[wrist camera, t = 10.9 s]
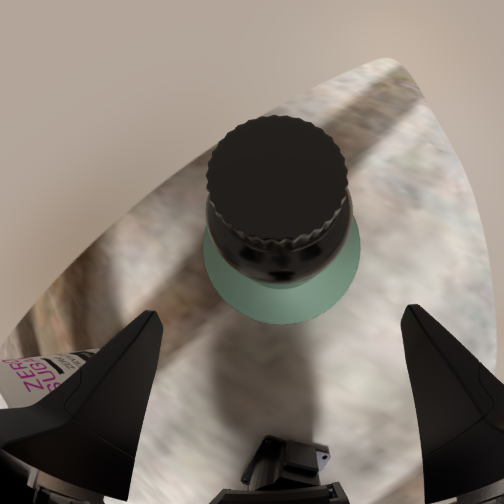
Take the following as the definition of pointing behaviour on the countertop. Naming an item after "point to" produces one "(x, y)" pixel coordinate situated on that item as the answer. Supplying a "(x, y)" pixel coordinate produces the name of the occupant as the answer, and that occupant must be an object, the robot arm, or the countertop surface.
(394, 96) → the countertop surface
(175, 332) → the countertop surface
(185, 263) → the countertop surface
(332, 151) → the supplement bottle
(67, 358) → the supplement can
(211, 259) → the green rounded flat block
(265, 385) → the countertop surface
